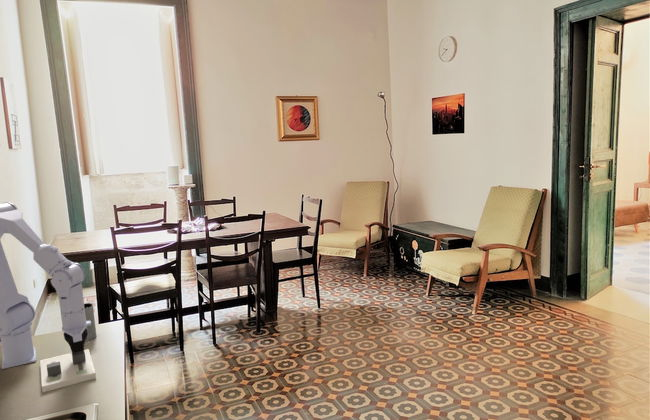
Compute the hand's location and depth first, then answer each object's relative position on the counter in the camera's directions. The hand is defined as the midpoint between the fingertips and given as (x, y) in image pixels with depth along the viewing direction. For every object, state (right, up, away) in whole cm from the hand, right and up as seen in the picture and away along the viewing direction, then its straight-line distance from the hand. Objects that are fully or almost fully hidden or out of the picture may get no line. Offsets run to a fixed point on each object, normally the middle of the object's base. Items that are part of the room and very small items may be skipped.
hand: (78, 356), depth 132 cm
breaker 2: (+1, -1, -2) cm, 2 cm away
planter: (-6, +1, +17) cm, 18 cm away
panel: (-1, -3, -3) cm, 5 cm away
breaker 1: (-2, -2, -8) cm, 8 cm away
